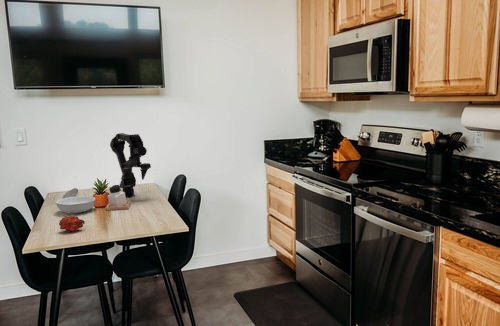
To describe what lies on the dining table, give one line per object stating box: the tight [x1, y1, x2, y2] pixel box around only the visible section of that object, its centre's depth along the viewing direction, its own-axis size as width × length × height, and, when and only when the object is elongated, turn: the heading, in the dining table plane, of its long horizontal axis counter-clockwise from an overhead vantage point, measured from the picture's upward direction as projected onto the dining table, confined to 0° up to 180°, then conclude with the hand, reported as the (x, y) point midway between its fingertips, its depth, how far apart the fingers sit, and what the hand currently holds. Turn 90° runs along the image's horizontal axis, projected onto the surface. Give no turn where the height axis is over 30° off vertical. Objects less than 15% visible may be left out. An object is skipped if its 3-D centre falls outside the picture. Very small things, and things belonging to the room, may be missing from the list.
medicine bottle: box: [107, 184, 127, 207], centre depth 249 cm, size 7×7×12 cm
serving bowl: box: [55, 195, 96, 214], centre depth 244 cm, size 21×21×7 cm
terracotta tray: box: [105, 200, 132, 212], centre depth 250 cm, size 12×12×2 cm
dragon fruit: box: [58, 215, 86, 233], centre depth 206 cm, size 8×8×12 cm
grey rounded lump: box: [61, 187, 79, 199], centre depth 267 cm, size 11×10×10 cm
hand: (136, 179), depth 267 cm, fingers open, 9 cm apart
